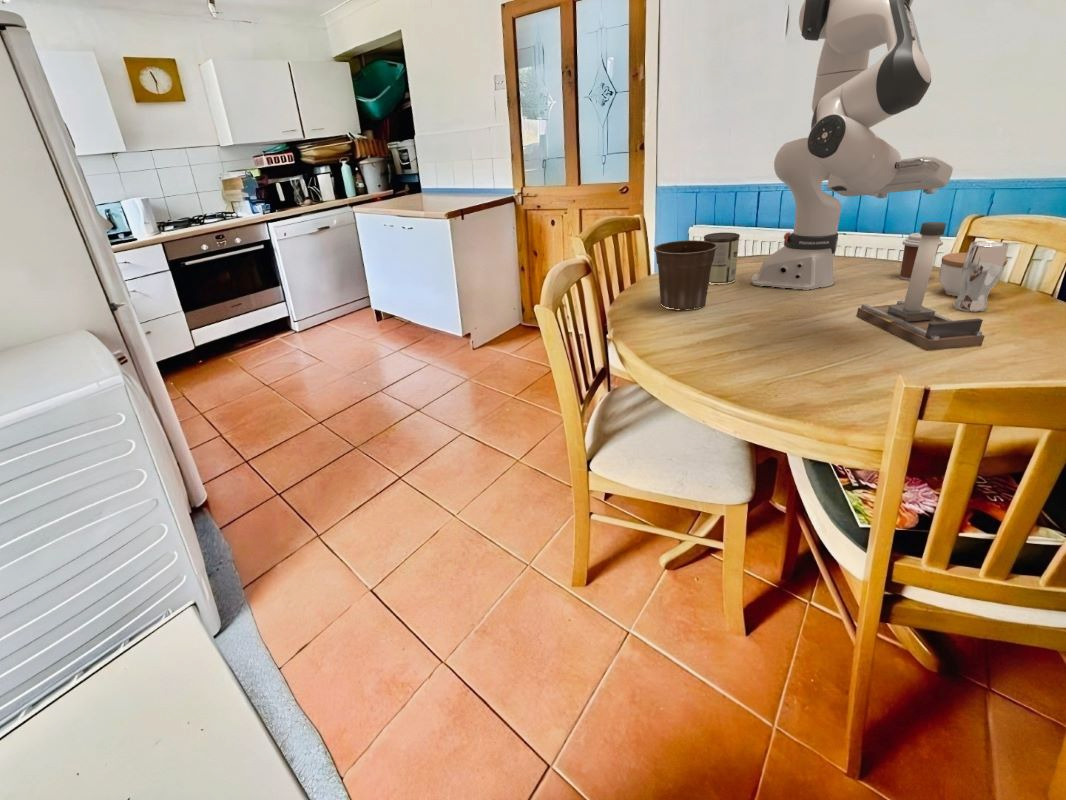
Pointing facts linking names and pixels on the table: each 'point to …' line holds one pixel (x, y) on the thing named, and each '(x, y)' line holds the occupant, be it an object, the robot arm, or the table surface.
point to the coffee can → (723, 257)
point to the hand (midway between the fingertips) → (907, 192)
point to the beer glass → (980, 274)
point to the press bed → (926, 328)
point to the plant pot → (684, 272)
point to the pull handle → (920, 275)
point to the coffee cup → (911, 254)
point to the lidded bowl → (955, 272)
